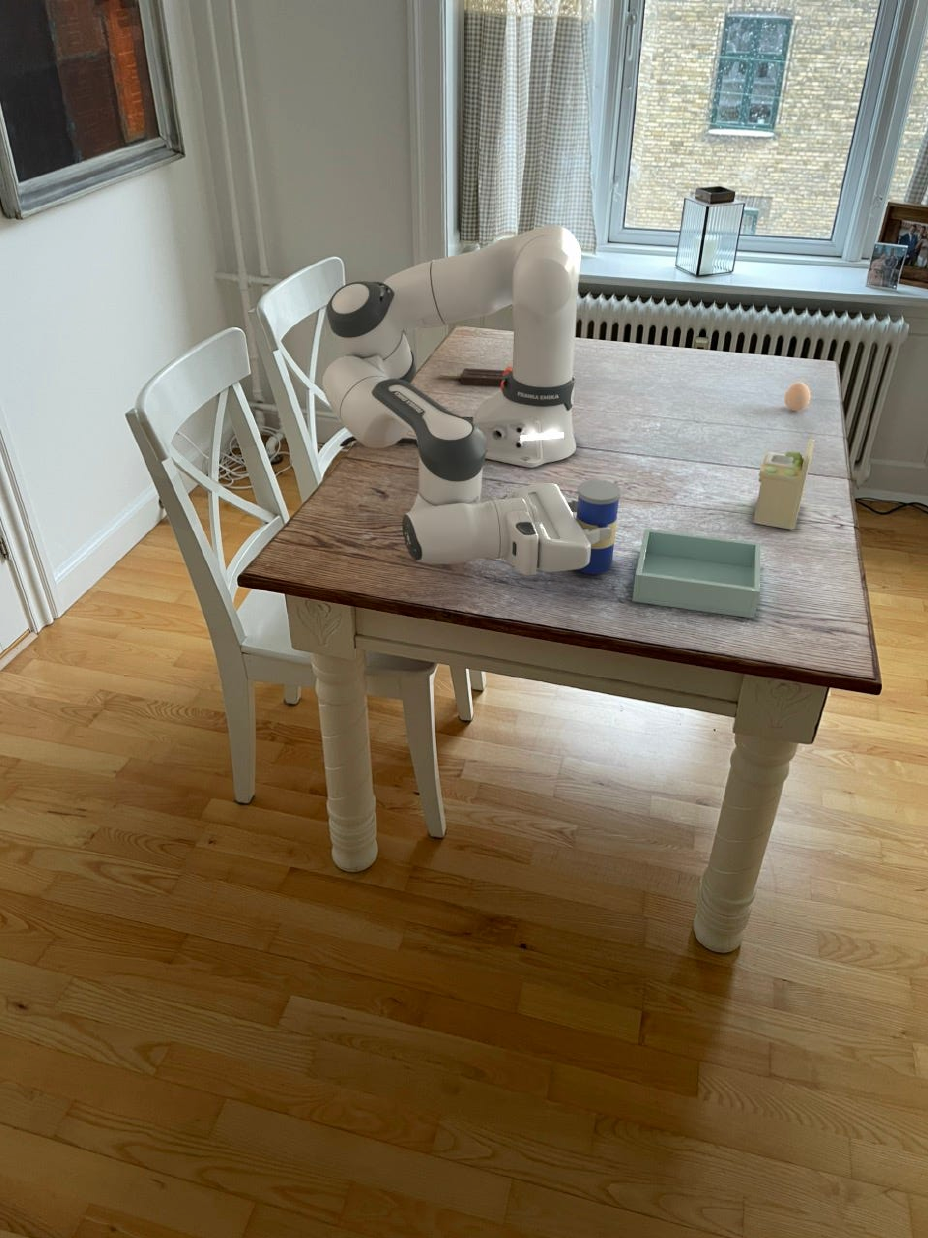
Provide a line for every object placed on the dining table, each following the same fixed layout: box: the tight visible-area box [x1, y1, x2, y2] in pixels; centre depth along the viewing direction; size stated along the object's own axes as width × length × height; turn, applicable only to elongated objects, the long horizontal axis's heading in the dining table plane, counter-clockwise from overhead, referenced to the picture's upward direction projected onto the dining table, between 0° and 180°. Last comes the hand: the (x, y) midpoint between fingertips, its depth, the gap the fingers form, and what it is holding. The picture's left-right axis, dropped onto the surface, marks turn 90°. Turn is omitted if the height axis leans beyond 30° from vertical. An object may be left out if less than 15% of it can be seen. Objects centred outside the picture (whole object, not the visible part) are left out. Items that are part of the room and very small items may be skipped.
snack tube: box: [575, 479, 622, 575], centre depth 146 cm, size 6×6×13 cm
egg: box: [783, 381, 811, 412], centre depth 197 cm, size 5×5×6 cm
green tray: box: [632, 528, 762, 619], centre depth 145 cm, size 18×14×5 cm
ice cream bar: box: [440, 367, 505, 387], centre depth 212 cm, size 5×2×15 cm
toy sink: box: [753, 439, 816, 531], centre depth 160 cm, size 8×7×13 cm
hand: (602, 519), depth 146 cm, fingers closed on snack tube, 6 cm apart
